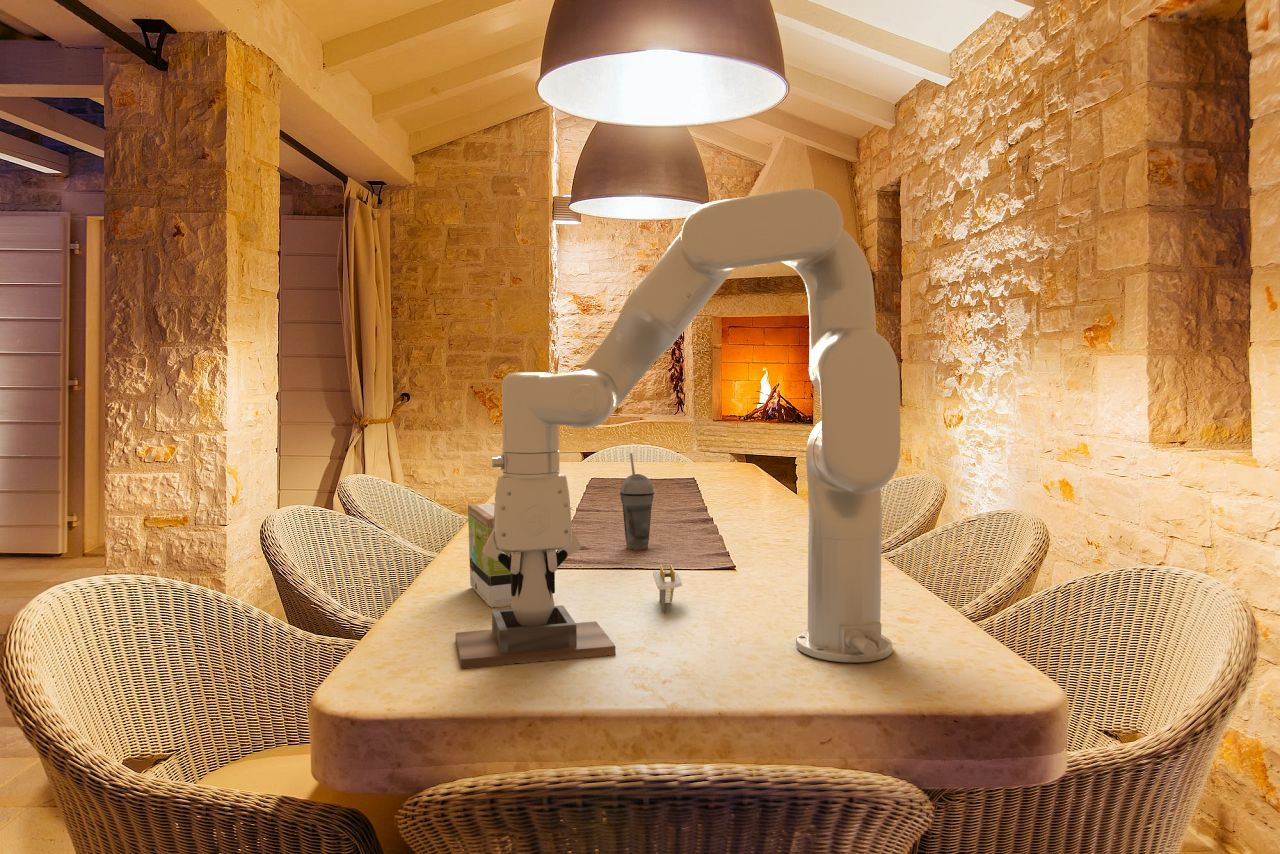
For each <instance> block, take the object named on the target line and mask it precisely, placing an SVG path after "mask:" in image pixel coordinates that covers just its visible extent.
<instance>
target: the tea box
mask: <svg viewBox="0 0 1280 854" xmlns="http://www.w3.org/2000/svg"><path fill="white" fill-rule="evenodd" d="M494 505H495V502H490V503H481V504H468V506H467V523H468V552H469V553H468V556H469V557H468V558H469V581H470V582H469V583H470V586H471V588H472V589H473V590H474V591H475V592H476V594H478V596H479V597H480V598H481V599H482V600H484V602H485V603H486V604H487V606H490V607H489V608H491V609H492V608H493V607H495V608H501V607H511V601H512V595H511V572H510V571H509V570H508V569H507V568H506V567H505V566H504V565H503V564H502V563H500V562H499V561H497V560H495V559H492V558H490V557H488V556H486V555H485V554H484V552H483V548H484V546H485V544H486V542H487V541H488V539H489V537H490V535H491V533H492V531H493V529H494ZM496 549H498V550H499V551H501V550H500V549H499V548H498V547H497V546H496ZM502 552H504V551H502ZM504 553H505V554H507V555H508V556H509V552H504ZM493 609H494V608H493Z"/></svg>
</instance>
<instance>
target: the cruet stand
mask: <svg viewBox="0 0 1280 854" xmlns="http://www.w3.org/2000/svg"><path fill="white" fill-rule="evenodd" d="M491 622H492V625H491V626H492V628H491V629H486V630H473V631H460V632H459V631H457V632H455V634H454V635H455V645H456V650H457V655H458V659H459V663H460V668H465V669H469V668H468V667H476V668H482V667H481V666H487V667H496V666H495V665H498V666H505V665H504V664H509V665H515V664H514V663H520V664H527V663H526V662H532V663H538V662H537V661H543V662H549V661H548V660H554V661H560V660H559V659H565V660H573V659H572V658H576V659H585V658H584V657H587V658H596V656H598V657H607V655H609V656H615V655H616V654H617V653H616V652H617V651H616V645H615V643H614V642H613V641H612V639H610V637H609V636H608V635H607V633H606V632H605V630H603V628H602V627H601V626H600V624H599V623H598V622H597V621H586V622H585V621H583V622H575V620H574V619H573V618H572V616H571V615H570V613H569V611H568V610H567V609H566V607H565V606H564V605H563V604H562V605H554V609H553V611H552V613H551V615H550V617H549V619H548V621H547V624H543V625H537V626H522V625H521V624H519V623H518V622H517V620H516V617H515V615H514V613H513V610H512V608H510V609H509V608H508V609H506V608H505V609H497V610H496V609H495V610H491Z"/></svg>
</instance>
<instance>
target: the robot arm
mask: <svg viewBox="0 0 1280 854" xmlns="http://www.w3.org/2000/svg"><path fill="white" fill-rule="evenodd" d="M843 227H844V216H843V211H842V210H841V207H840V205H839V204H838V202H837V201H836V199H835V198H834V197H833V196H832V195H830V194H829V193H827V192H826V191H824V190H820V189H817V188H811V187H799V188H798V187H797V188H792V189H786V190H785V189H784V190H779V191H772V192H768V193H767V192H766V193H761V194H755V195H754V194H753V195H748V196H743V197H742V196H741V197H734V198H728V199H727V198H726V199H721V200H714V201H711V202H707V203H703V204H701V205H699V206H698V207H696V208H695V209H694V210H692V212H690V213H689V214H688V215H687V217H686V218H685V220H684V223H683V225H682V229H681V231H680V233H678V235H677V236H676V238H675V239H674V240H673V242H671V244H670V245H669V246H668V247H667V249H666V250H665V252H664V253H663V254H662V255H661V257H660V258H659V259H658V261H657V262H656V263H654V265H653V267H651V269H650V270H649V271H648V273H647V274H646V275H645V276H644V277H643V278H642V280H641V281H640V282H639V283H638V285H636V287H635V288H634V289H633V291H632V292H631V293H630V294H629V296H628V297H627V299H626V301H625V303H624V305H623V306H622V309H621V311H620V313H619V315H618V317H617V319H616V321H615V323H614V325H613V326H612V328H611V330H610V331H609V332H608V334H607V336H606V337H605V338H604V339H603V340H602V342H601V343H600V344H599V346H598V347H597V348H596V350H595V351H594V352H593V353H592V355H591V356H590V357H589V358H588V360H587V361H586V362H585V363H584V364H583V366H582V367H581V368H580V369H579V370H578V371H572V372H566V373H565V372H564V373H558V374H553V373H550V372H538V371H537V372H535V371H534V372H532V371H531V372H530V371H529V372H528V371H527V372H524V371H523V372H520V371H519V372H510V373H508V374H507V375H505V376H504V378H503V380H502V383H501V406H502V407H501V409H502V411H501V413H502V414H501V415H502V419H501V420H502V451H501V453H500V455H498V456H496V457H495V456H493V457H491V467H492V468H498V469H500V470H501V471H502V474H499V475H498V477H497V481H496V487H495V496H494V503H495V505H494V529H493V531H492V533H491V535H490V537H489V539H488V541H487V542H486V544H485V546H484V548H483V552H484V554H485V555H486V556H488V557H490V558H492V559H495V560H497V561H499V562H500V563H502V564H503V565H504V566H505V567H506V568H507V569H508V570H509V571H510V572H511V595H512V596H515V594H516V591H517V586H518V597H519V596H520V593H521V589H522V581H523V575H522V574H521V573H520V570H521V568H520V558H521V552H530V551H544V553H545V558H546V565H547V566H546V570H547V572H546V574H545V578H546V581H547V588H548V590H549V593H550V598H551V592H552V594H555V593H556V581H555V579H556V577H555V576H556V573H555V572H556V571H557V569H558V568H559V567H560V566H561V564H563V562H564V561H565V560H566V559H567V558H568V557H569V556H571V555H574V554H575V553H577V552H579V551H580V550H581V548H582V545H581V543H580V541H579V539H578V538H577V536H576V534H575V532H574V531H573V528H572V527H573V526H572V510H571V509H572V508H571V500H570V491H569V490H570V489H569V484H568V480H567V475H566V474H564V473H561V472H560V426H564V427H572V428H573V427H574V428H579V429H590V428H595V427H598V426H599V425H601V424H603V423H605V421H607V420H608V419H609V418H610V417H611V416H612V415H613V414H614V412H616V410H617V409H618V408H619V406H620V405H621V404H622V403H623V401H624V400H625V399H626V398H627V397H628V395H629V394H630V393H631V391H632V390H633V389H634V388H635V387H636V386H637V384H638V383H639V382H640V380H641V379H642V378H643V377H644V376H645V374H646V373H647V372H648V371H649V370H650V368H652V366H653V365H654V364H655V362H656V361H658V359H659V358H660V357H661V356H663V354H664V353H666V352H667V351H668V350H669V349H670V348H671V347H672V346H673V345H674V344H675V342H676V341H677V340H678V339H679V337H680V336H681V335H682V334H683V332H685V330H686V329H687V328H688V326H689V325H690V324H691V323H692V322H693V320H694V319H696V317H697V315H698V314H700V312H701V310H702V309H703V308H704V307H705V306H706V304H707V303H708V302H709V301H710V299H711V298H712V297H713V296H714V294H715V293H716V292H717V291H718V290H719V289H720V288H721V286H722V285H723V284H724V282H725V281H726V280H727V279H728V277H729V276H730V275H731V274H732V273H733V272H734V270H735V269H737V268H747V267H757V266H763V265H771V264H776V263H783V264H784V265H786V266H789V267H791V268H793V269H794V270H795V272H796V273H797V274H799V276H800V277H801V279H802V280H803V283H804V285H805V289H806V293H807V301H808V302H807V305H808V317H809V363H808V364H809V365H808V366H809V367H808V373H809V377H810V381H811V383H812V386H813V387H814V388H815V390H816V391H817V393H819V394H820V421H819V422H818V423H817V424H816V425H815V426H814V428H813V429H812V431H811V432H810V435H809V437H808V439H807V443H806V449H805V465H806V466H805V468H806V480H807V496H808V498H807V499H808V532H807V533H808V537H807V539H808V540H807V541H808V542H807V630H803V631H802V632H800V633H798V634H797V635H796V637H795V647H796V648H797V650H799V651H800V652H801V653H803V654H804V655H806V656H809V657H812V658H815V659H818V660H824V661H829V662H835V663H836V662H837V663H852V664H853V663H857V664H859V663H868V662H869V663H870V662H876V661H880V660H883V659H886V658H887V657H889V656H891V654H892V653H893V642H892V641H891V640H890V639H889V638H888V637H887V636H885V635H883V634H882V623H881V616H882V615H881V609H882V608H881V606H882V605H881V604H882V599H881V598H882V597H881V596H882V589H881V588H882V536H883V506H882V505H883V504H882V494H881V489H882V488H883V487H885V486H886V485H887V484H888V483H889V482H890V481H891V480H892V478H893V477H894V476H895V474H896V471H897V469H898V467H899V462H900V455H901V389H900V388H901V384H900V369H899V365H898V364H899V363H898V359H897V356H896V353H895V352H894V351H895V350H893V348H892V346H891V345H890V343H889V342H888V341H887V339H885V337H884V336H883V335H881V334H880V333H877V318H876V317H877V316H876V315H877V314H876V304H875V289H874V288H875V287H874V280H873V275H872V271H871V267H870V265H869V262H868V260H867V257H866V255H865V254H864V252H863V250H862V249H861V247H860V246H859V244H858V243H857V241H856V240H855V239H854V238H853V237H852V236H851V235H850V233H848V232H847V230H845V229H843ZM496 546H497V547H498V548H499V549H500V550H501V551H499V550H498V549H496ZM502 551H504V552H509V556H508V555H507V554H505V553H504V552H502Z"/></svg>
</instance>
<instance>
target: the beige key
mask: <svg viewBox="0 0 1280 854" xmlns="http://www.w3.org/2000/svg"><path fill="white" fill-rule="evenodd" d="M667 566H669V571H668V570H667ZM652 577H653V579H654V582H655V585H656V588H657V589H658V590H659V603H660V605H661V608H662V612H663V614H664V615H665V614H666V603H669V604H671V603H672V602H673V597H674V593H675V592H674V591H675V588H678V587H679V588H680V587H682V586H683V581H682V580H681V577H680V576H679V573H678V572H676V571H675V569H674V568H673V565H672V564H671V563H666V564H665V563H663V564H662V563H661V564H659V570H657V571H655V570H654V571H652ZM665 578H670V581H665Z"/></svg>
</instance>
